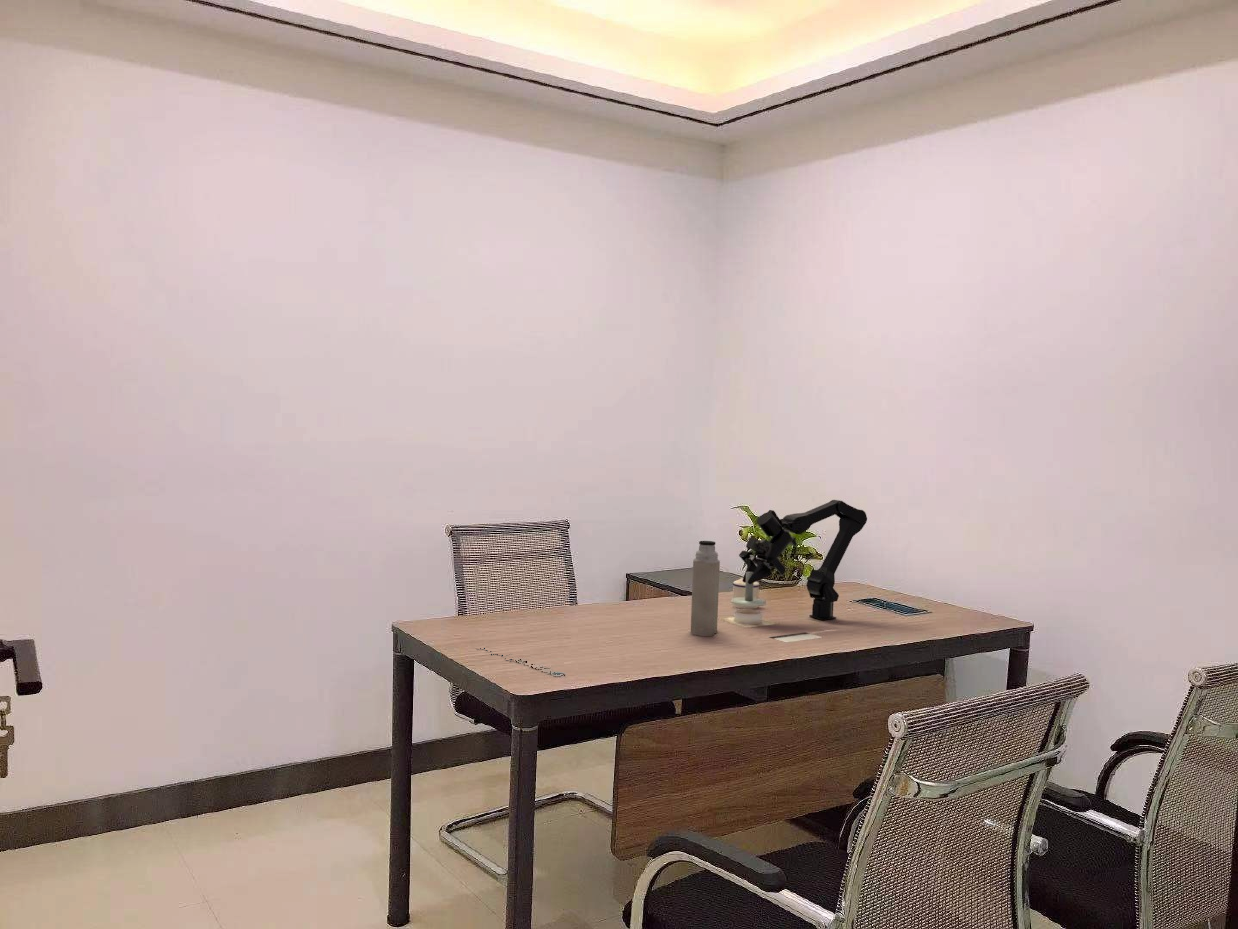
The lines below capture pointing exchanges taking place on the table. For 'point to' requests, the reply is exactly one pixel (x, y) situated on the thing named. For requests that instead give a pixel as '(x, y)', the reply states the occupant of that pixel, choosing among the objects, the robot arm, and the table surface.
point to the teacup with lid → (740, 592)
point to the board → (731, 620)
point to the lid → (748, 595)
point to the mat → (795, 637)
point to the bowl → (748, 616)
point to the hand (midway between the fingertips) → (746, 582)
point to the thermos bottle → (705, 590)
